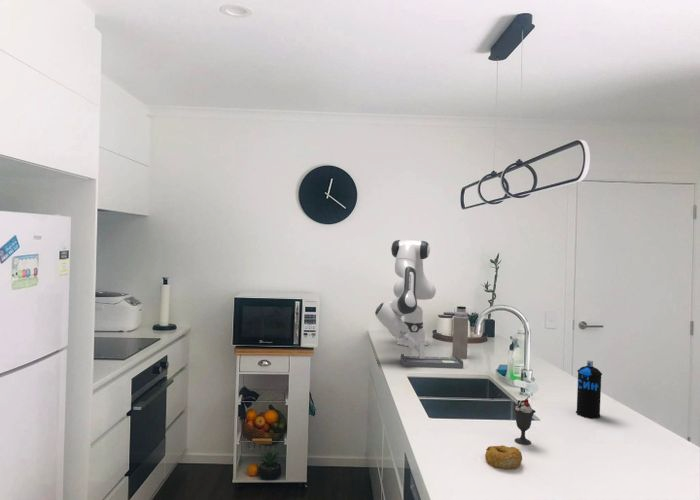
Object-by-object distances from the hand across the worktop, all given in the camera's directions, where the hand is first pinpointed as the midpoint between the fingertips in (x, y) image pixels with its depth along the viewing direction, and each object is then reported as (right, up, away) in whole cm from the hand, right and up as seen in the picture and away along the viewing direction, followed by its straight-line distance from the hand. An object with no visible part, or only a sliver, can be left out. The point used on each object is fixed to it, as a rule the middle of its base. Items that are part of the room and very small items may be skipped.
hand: (418, 349), depth 247 cm
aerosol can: (+53, -10, -69) cm, 88 cm away
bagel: (+8, -9, -111) cm, 112 cm away
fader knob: (+2, -4, 0) cm, 5 cm away
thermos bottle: (+25, -8, +19) cm, 33 cm away
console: (+7, -7, 0) cm, 10 cm away
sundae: (+19, -9, -96) cm, 99 cm away
